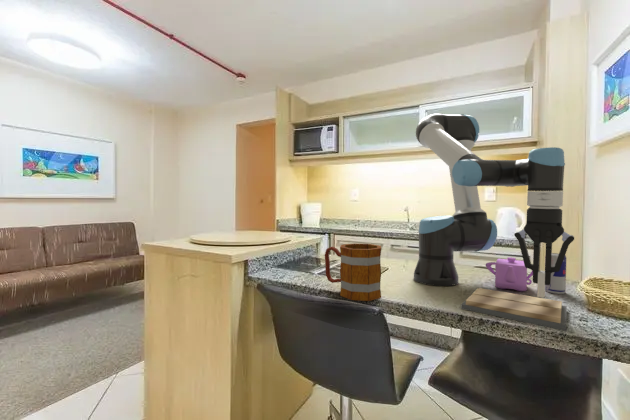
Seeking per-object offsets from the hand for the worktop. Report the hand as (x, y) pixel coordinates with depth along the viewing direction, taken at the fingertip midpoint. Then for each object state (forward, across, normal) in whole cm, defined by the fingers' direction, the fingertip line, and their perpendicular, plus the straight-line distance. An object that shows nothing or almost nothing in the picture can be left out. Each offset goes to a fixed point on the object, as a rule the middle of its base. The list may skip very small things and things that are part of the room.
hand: (541, 295), depth 83 cm
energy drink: (+4, +2, +22) cm, 23 cm away
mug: (+4, -48, -19) cm, 51 cm away
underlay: (+4, -6, -4) cm, 8 cm away
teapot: (+4, -10, +18) cm, 21 cm away
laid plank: (+2, -6, -8) cm, 10 cm away
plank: (+3, -6, -1) cm, 6 cm away
